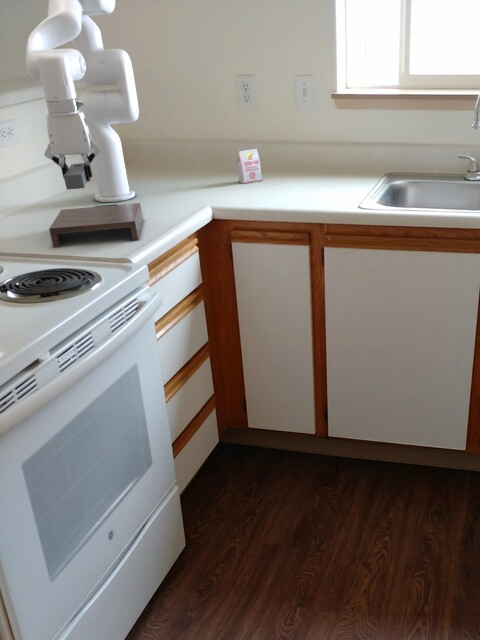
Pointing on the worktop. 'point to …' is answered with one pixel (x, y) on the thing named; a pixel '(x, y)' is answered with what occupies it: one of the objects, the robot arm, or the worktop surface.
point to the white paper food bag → (249, 166)
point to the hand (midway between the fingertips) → (78, 180)
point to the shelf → (97, 220)
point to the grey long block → (75, 177)
